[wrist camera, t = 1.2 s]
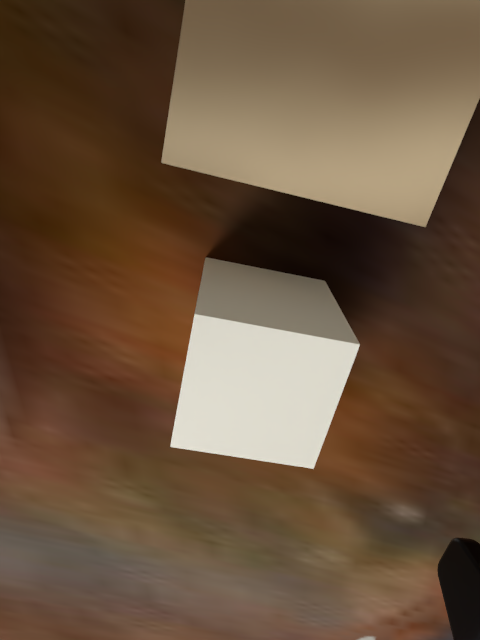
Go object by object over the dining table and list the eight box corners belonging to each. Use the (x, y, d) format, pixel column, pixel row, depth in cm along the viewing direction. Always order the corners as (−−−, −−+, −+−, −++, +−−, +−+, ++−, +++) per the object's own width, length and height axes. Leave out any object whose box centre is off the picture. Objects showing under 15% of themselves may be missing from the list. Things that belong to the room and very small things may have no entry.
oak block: (387, 205, 18) (425, 226, 15) (176, 152, 17) (161, 162, 14) (486, -61, 15) (570, -119, 11) (224, -148, 14) (222, -243, 10)
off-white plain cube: (293, 380, 22) (313, 468, 16) (186, 361, 21) (170, 446, 16) (324, 280, 19) (359, 344, 14) (205, 256, 19) (194, 313, 13)
